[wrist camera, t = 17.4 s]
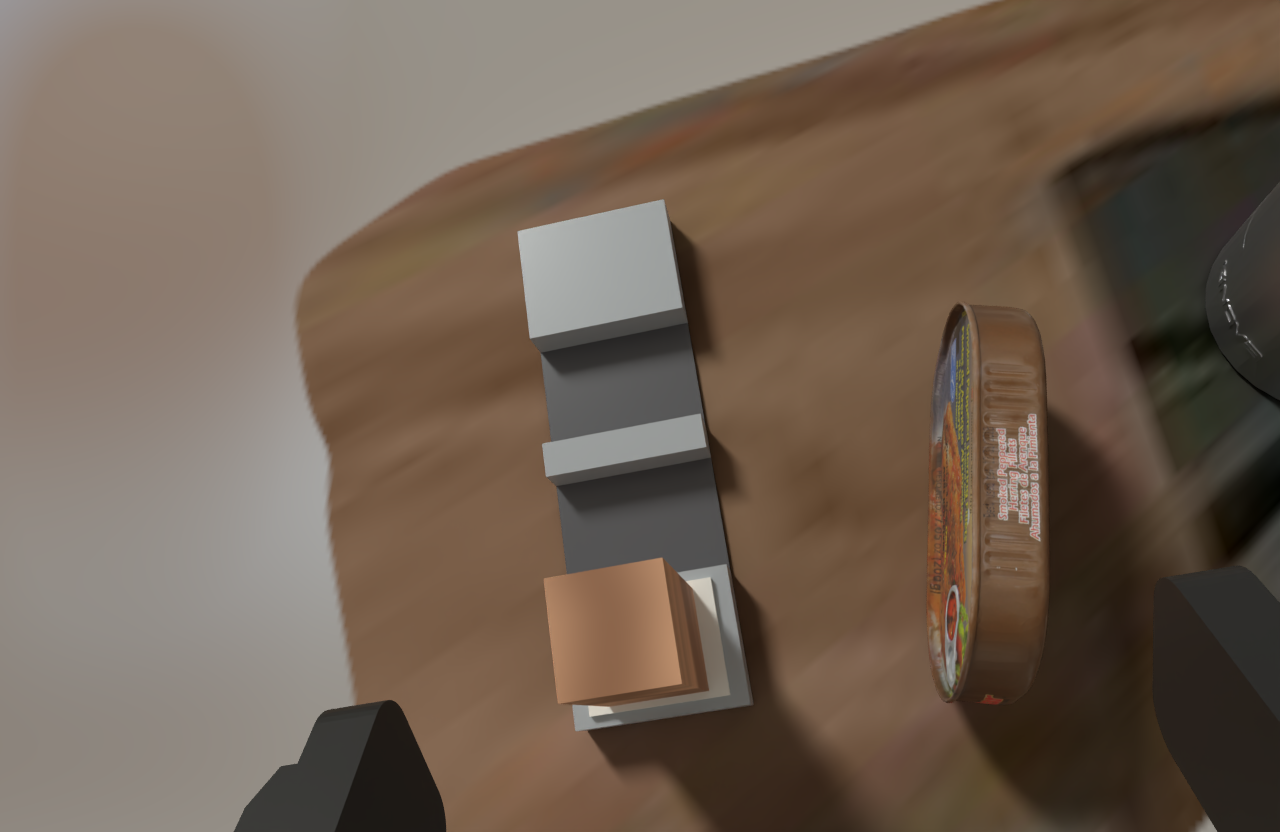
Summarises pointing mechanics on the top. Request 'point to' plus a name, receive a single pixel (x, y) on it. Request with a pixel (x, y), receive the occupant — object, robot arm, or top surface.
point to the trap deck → (631, 429)
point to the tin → (988, 507)
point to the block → (624, 635)
